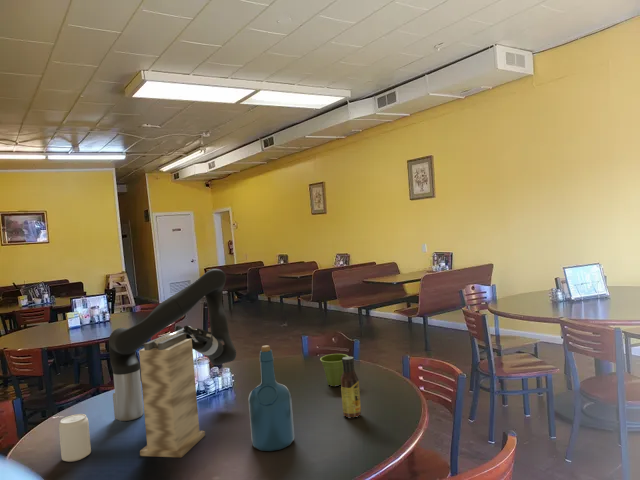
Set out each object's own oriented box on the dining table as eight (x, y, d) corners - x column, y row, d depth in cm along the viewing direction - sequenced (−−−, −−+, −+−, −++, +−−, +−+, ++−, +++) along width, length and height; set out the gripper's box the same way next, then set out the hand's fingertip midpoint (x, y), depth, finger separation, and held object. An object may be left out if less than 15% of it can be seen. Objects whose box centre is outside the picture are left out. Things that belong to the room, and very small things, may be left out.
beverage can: (69, 452, 149) (65, 414, 149) (95, 449, 150) (92, 412, 150) (56, 464, 141) (53, 425, 141) (84, 461, 142) (81, 422, 142)
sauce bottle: (360, 419, 157) (355, 360, 157) (341, 419, 158) (337, 361, 158) (362, 411, 164) (358, 355, 163) (344, 411, 165) (340, 355, 164)
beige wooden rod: (160, 347, 143) (159, 339, 143) (153, 347, 144) (153, 340, 144) (193, 332, 163) (192, 325, 163) (186, 332, 163) (186, 326, 163)
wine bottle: (255, 434, 151) (248, 342, 151) (296, 432, 151) (289, 339, 151) (247, 455, 138) (239, 353, 137) (292, 452, 137) (284, 350, 137)
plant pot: (320, 381, 200) (318, 355, 200) (348, 378, 201) (346, 352, 201) (324, 390, 188) (321, 362, 188) (353, 387, 190) (350, 359, 189)
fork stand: (140, 455, 143) (130, 344, 142) (167, 434, 157) (158, 333, 157) (181, 457, 140) (172, 343, 139) (205, 435, 154) (196, 332, 154)
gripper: (188, 333, 176) (164, 318, 161) (223, 332, 172) (201, 316, 158) (185, 353, 172) (160, 339, 157) (219, 352, 169) (197, 338, 154)
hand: (181, 328), depth 158 cm, fingers closed on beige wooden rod, 2 cm apart
